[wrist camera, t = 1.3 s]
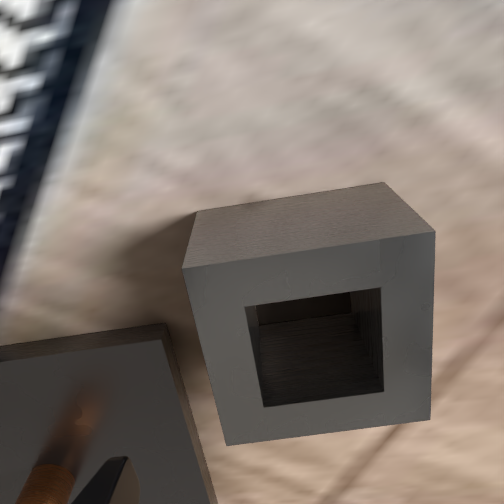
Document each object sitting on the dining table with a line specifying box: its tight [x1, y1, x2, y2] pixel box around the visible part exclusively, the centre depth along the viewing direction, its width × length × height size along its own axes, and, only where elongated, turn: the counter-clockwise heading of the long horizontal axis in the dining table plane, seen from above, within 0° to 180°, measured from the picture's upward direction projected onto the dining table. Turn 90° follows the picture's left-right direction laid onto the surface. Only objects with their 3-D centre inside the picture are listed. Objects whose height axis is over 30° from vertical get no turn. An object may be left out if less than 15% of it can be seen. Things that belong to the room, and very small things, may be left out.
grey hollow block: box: [182, 182, 435, 446], centre depth 13 cm, size 6×6×4 cm
